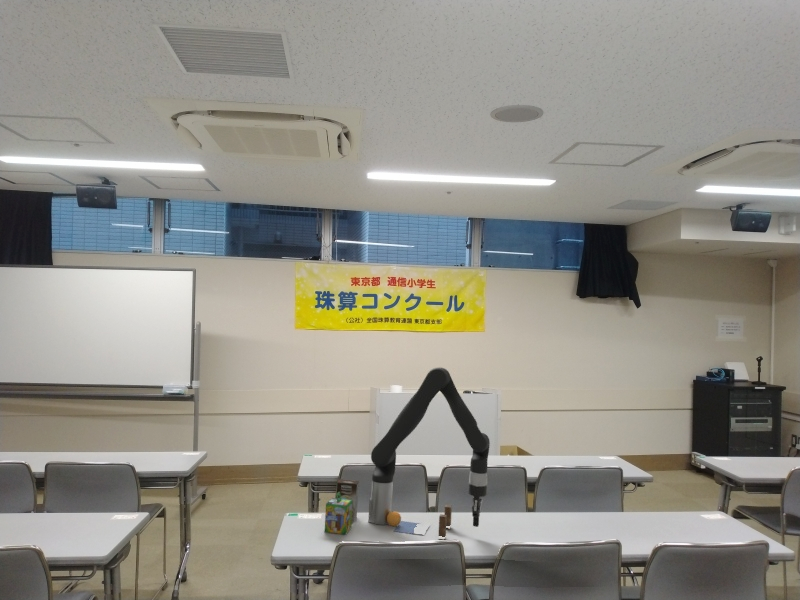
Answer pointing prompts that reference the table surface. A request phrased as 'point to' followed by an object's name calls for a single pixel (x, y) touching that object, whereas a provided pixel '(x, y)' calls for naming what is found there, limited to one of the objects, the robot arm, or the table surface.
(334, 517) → the chalk box
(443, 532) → the post
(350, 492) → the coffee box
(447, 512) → the post
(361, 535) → the table surface
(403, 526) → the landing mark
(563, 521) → the table surface
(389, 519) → the ball
